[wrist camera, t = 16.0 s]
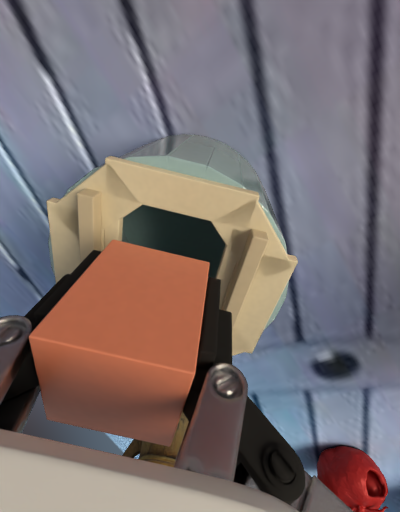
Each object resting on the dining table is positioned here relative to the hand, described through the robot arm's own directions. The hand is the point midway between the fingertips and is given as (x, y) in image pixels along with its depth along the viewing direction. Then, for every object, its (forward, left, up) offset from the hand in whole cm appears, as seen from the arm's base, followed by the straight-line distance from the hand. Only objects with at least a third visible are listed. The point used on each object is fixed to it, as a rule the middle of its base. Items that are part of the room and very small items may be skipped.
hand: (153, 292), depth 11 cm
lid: (+2, +1, -3) cm, 4 cm away
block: (0, 0, 0) cm, 0 cm away
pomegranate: (+28, +43, -14) cm, 53 cm away
